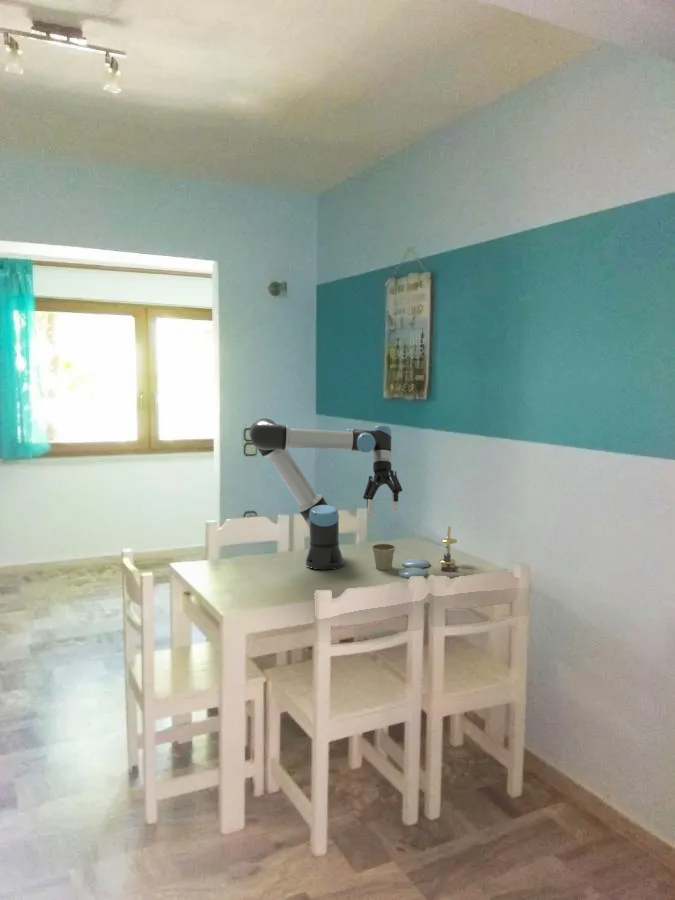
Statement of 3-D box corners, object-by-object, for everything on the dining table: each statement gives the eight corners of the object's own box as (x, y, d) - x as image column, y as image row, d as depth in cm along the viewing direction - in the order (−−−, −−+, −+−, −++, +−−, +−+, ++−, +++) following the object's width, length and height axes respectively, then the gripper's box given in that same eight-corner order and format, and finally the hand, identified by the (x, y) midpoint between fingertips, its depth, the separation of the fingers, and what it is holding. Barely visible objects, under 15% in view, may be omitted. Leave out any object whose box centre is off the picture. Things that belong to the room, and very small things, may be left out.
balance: (438, 575, 263) (438, 537, 262) (442, 560, 284) (442, 524, 282) (454, 576, 262) (455, 537, 260) (457, 560, 283) (457, 525, 281)
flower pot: (396, 571, 270) (396, 549, 269) (372, 571, 270) (372, 550, 269) (395, 564, 279) (394, 543, 278) (371, 564, 279) (371, 543, 278)
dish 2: (400, 568, 274) (400, 565, 274) (403, 560, 285) (403, 558, 285) (428, 569, 272) (428, 566, 272) (430, 561, 282) (430, 559, 282)
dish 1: (396, 577, 261) (396, 575, 261) (399, 569, 272) (399, 567, 272) (425, 579, 259) (425, 576, 259) (428, 570, 270) (428, 568, 270)
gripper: (410, 457, 281) (411, 509, 274) (368, 470, 299) (367, 518, 292) (397, 453, 276) (398, 505, 270) (355, 466, 294) (354, 515, 288)
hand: (382, 512), depth 281 cm, fingers open, 13 cm apart
